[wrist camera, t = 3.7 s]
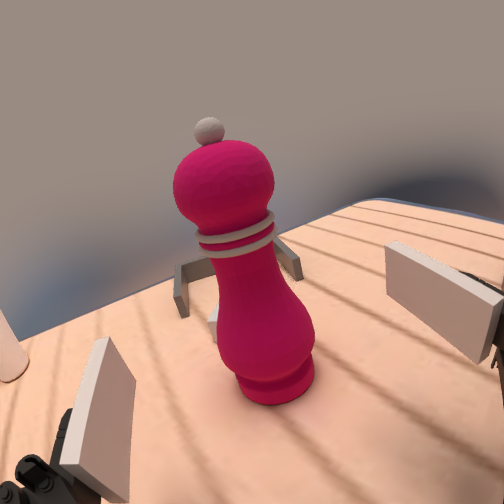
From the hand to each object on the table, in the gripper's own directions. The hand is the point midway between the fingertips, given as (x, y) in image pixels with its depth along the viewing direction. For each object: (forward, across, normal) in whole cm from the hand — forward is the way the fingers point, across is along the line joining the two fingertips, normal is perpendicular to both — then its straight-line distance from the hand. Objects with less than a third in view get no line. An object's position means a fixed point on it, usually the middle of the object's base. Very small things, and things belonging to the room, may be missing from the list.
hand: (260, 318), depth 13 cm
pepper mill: (+7, +1, -11) cm, 13 cm away
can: (+19, -35, -11) cm, 42 cm away
